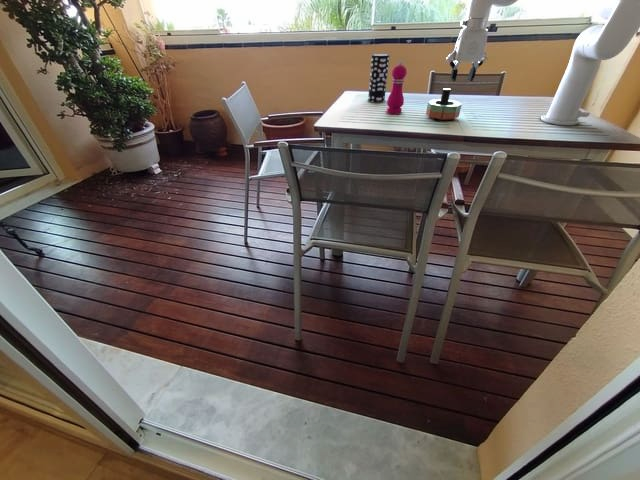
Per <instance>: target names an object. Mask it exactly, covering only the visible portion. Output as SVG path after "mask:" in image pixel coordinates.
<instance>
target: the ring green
mask: <svg viewBox="0 0 640 480" xmlns="http://www.w3.org/2000/svg"><path fill="white" fill-rule="evenodd" d="M440 101H441V99H431V100H429V101H428V102H427V106H426V109H427V108H428V109H429V110H430V111H434V112H440V113H456V112H458V111H460V112H461V109H462V105H463V104H462V103H461V102H459V101H457V100H452V99H449V100H448V105H440Z"/></svg>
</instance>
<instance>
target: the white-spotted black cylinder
mask: <svg viewBox="0 0 640 480" xmlns="http://www.w3.org/2000/svg"><path fill="white" fill-rule="evenodd" d="M389 63H390V54H388V53H387V54H386V53H373V54H371V59H370V74H369V85H368V97H367V98H368V99H367V100H368V102H369V103H383V102H385V101H386V92H387V91H386V90H387V84H388V83H387V82H388V74H389Z"/></svg>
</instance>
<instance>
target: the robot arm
mask: <svg viewBox="0 0 640 480" xmlns="http://www.w3.org/2000/svg"><path fill="white" fill-rule="evenodd" d="M516 2H518V0H469V2H468V6H467V10H466V15H465V18H464V20H461V21H460V26H462V29H461V30H460V32H459V35H458V38H457V40H456V43H455V45H454V50H453V51H452V52H451V53H450V54H449V55H448V56H447V57H446V58H445V59H446V61H447V63H448V65H449V66H450V68H451V73H450V77H449V78H450V81H451V82H456V81H457V76H458V73H459V70H458V68H459V66H460V64H461V63H471V68H470V69H469V72H468V77H467V80H468V81H469V82H473V81H474V79H475V76H476V73H477V70H478V69H479V68H480V67H481V66H482V65H483V64H484V63H485V62H486V61H488V59H489V56H488V55H487V53H486V47H487V41H488V33H489V29H488V28H487V25H488V21H489V18H490V14H491V11H492V7H493V6H494V7H495V8H497V7H498V8H500V7H502V8H503V7H510V6H512V5H515V3H516ZM598 15H599V17H601V18H602V19H603V20H607V21H606V23H605V24H595V25H591V26H589V27H588V28H586V29H585V30H583V31H582V32H581V33H580V34H579V35H578V37H577V38H576V39H575V41H574V44H573V47H572V50H571V55H570V59H569V60H568V61H569V62H568V64H567V66H566V69H565V71H564V73H563V76H562V78H561V81H560V83H559V85H558V88H557V90H556V92H555V94H554V97H553V99H552V102H551V103H550V107H549V109H548V111H547V113H546V114H542V115H541V117H540V120H541V121H543V122H545V123H548V124H551V125H557V126H558V125H559V126H575V125H578V124H579V122H580V120H579V118H581V117H582V118H588V117H589V116H590V114H591V113H590V111H582V110H581V107H582V106H583V103H584V101H585V100H586V97H587V95H588V93H589V91H590V89H591V88H592V85H593V84H594V81H595V79H596V76H597V75H598V73H599V69H600V67H601V63H602V61H607V60H611V59H613V58H615V57H617V56H618V55H619V54H621V53H622V52H623V51H624V50H625V49H626V48H627V46H628V45H629V44H630V43H631V41H632V39H633V38H634V36H635V35H636V33H637V32H638V30H639V28H640V0H601V2H600V4H599V8H598ZM453 60H454V61H453Z"/></svg>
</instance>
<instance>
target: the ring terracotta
mask: <svg viewBox="0 0 640 480" xmlns="http://www.w3.org/2000/svg"><path fill="white" fill-rule="evenodd" d="M460 113H461V110H460V111H458V112H456V113H440V112H434V111H430V110H429V109H428V108H427V107H426V111H425V115H427V117H429V118H431V117H432V118H437V119H454V120H455V119H457V118H459V116H460ZM432 118H431V119H432Z"/></svg>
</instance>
